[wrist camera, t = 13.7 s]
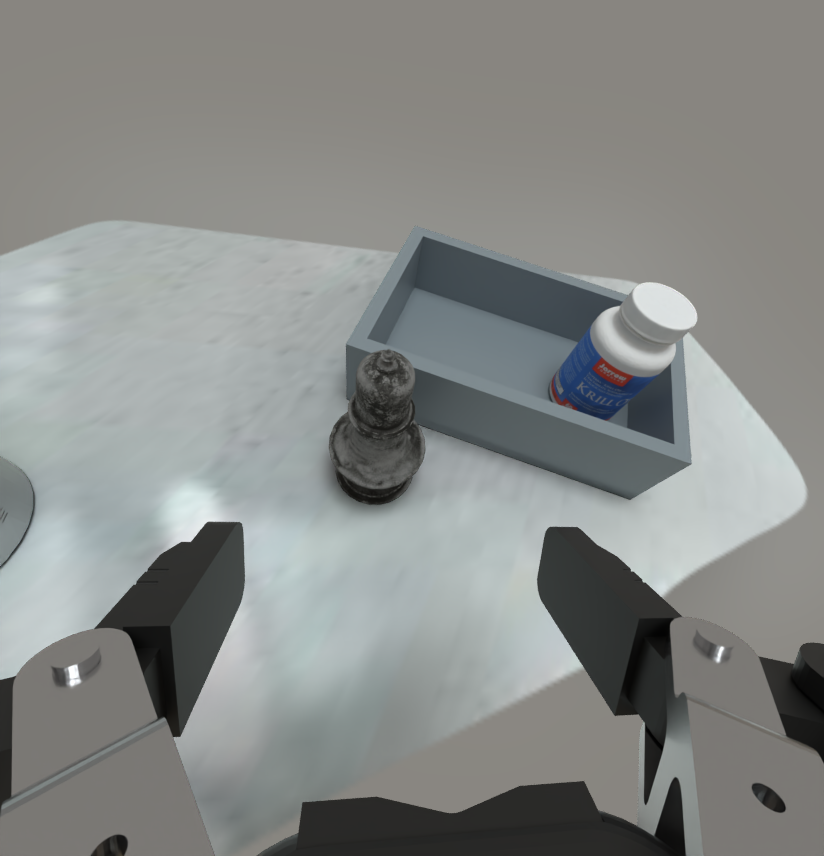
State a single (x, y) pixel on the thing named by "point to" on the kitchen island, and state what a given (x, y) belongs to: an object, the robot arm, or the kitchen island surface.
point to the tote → (516, 364)
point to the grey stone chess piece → (378, 431)
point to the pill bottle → (623, 351)
